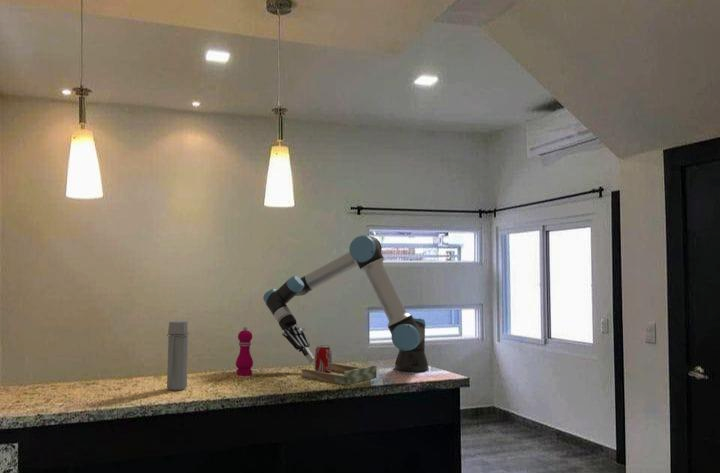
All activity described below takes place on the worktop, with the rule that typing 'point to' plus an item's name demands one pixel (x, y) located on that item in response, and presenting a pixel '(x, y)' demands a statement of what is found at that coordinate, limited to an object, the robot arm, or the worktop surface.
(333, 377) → the wooden tray
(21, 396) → the worktop surface
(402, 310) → the robot arm
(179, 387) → the water bottle
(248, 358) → the pepper mill
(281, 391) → the worktop surface
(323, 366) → the soda can
